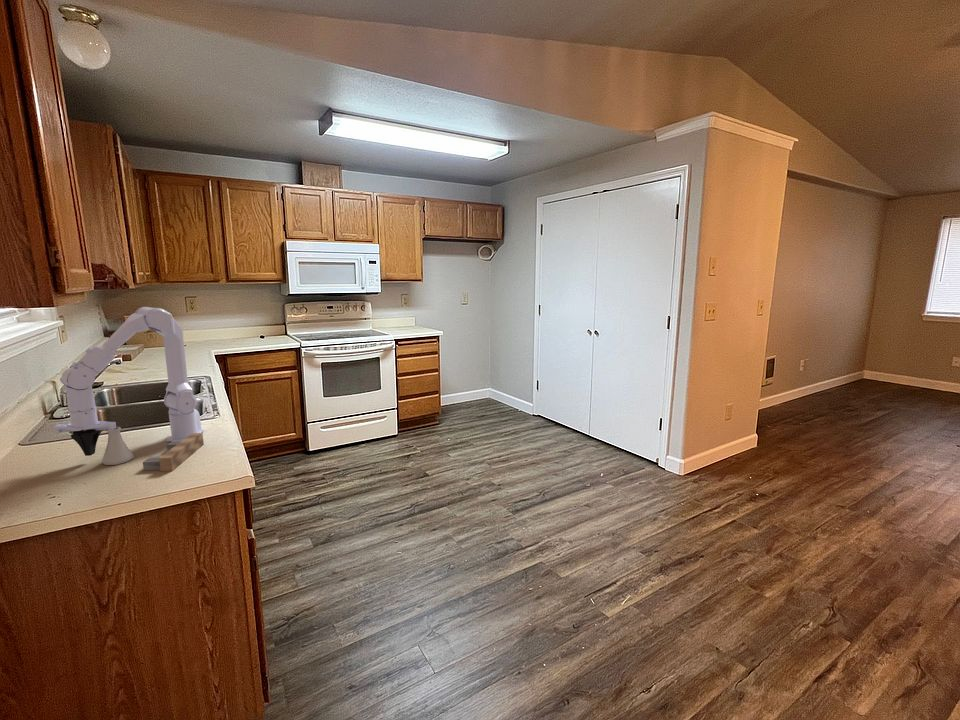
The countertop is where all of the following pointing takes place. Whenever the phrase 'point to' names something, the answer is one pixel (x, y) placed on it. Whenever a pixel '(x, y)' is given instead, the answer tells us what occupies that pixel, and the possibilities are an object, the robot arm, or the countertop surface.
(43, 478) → the countertop surface
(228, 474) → the countertop surface
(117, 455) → the flask
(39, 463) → the countertop surface
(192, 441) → the spice rail
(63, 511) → the countertop surface
